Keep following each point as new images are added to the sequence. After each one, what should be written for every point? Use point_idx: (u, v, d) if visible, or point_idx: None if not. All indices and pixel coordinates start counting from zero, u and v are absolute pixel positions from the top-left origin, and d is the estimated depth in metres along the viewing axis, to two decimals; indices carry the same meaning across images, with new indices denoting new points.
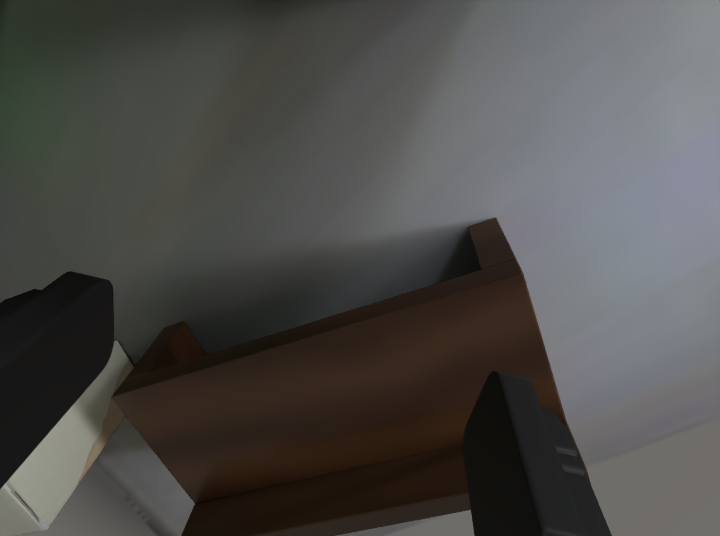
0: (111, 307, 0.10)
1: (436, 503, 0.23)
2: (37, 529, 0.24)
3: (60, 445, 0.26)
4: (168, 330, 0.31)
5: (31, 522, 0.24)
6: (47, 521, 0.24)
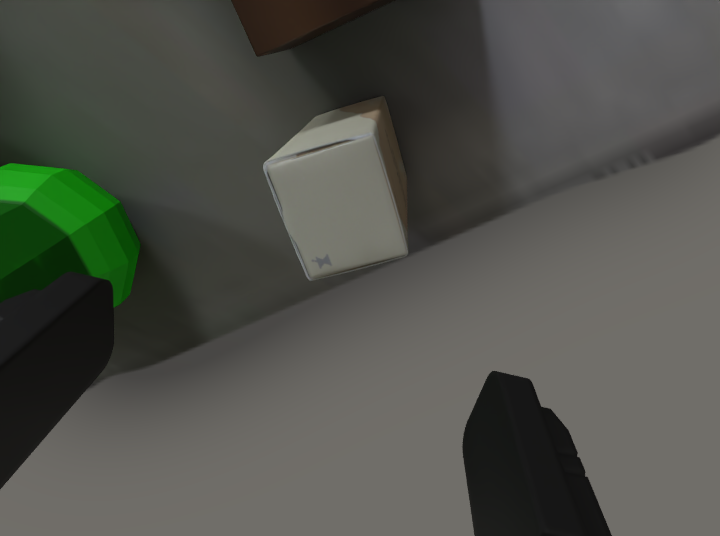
0: (111, 307, 0.10)
1: None
2: (368, 145, 0.16)
3: (317, 134, 0.20)
4: None
5: (352, 148, 0.17)
6: (363, 132, 0.17)
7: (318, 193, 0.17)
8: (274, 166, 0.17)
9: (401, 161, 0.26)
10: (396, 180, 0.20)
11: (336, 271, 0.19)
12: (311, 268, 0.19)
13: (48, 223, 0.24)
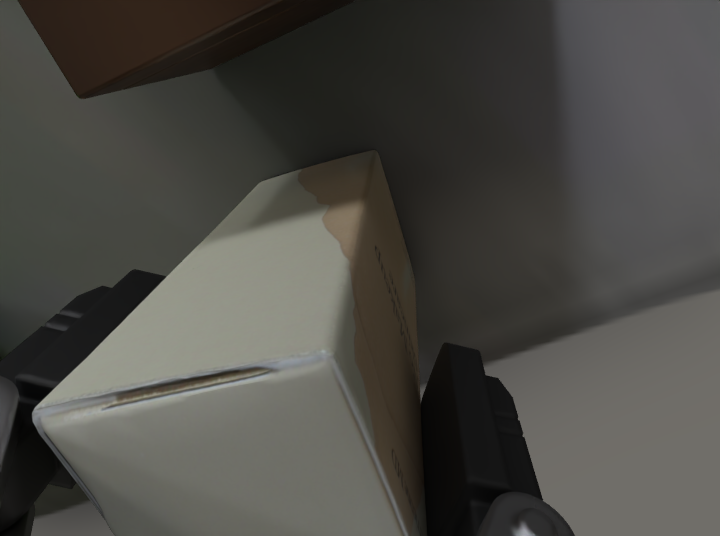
0: None
1: None
2: (318, 387, 0.05)
3: (219, 272, 0.09)
4: None
5: (271, 394, 0.06)
6: (304, 344, 0.06)
7: (186, 487, 0.06)
8: (56, 425, 0.06)
9: (406, 261, 0.15)
10: (399, 367, 0.09)
11: None
12: None
13: None
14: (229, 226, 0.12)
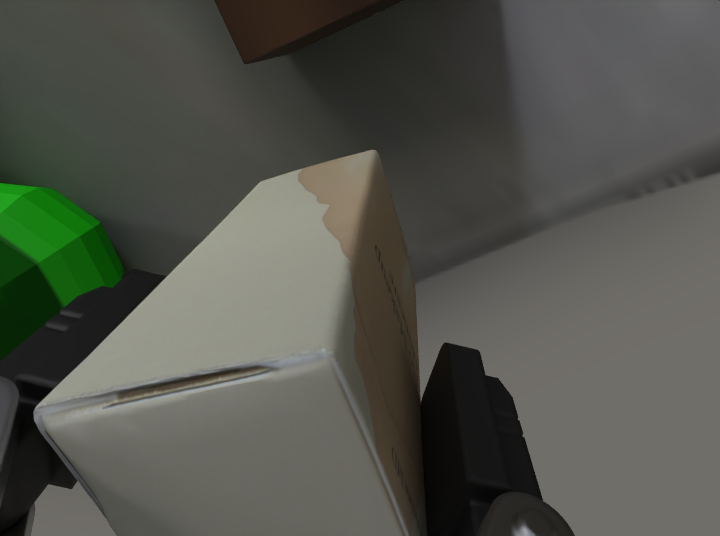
0: None
1: None
2: (318, 385, 0.05)
3: (219, 272, 0.09)
4: None
5: (272, 393, 0.06)
6: (305, 343, 0.06)
7: (187, 485, 0.06)
8: (57, 423, 0.06)
9: (406, 261, 0.15)
10: (399, 366, 0.09)
11: None
12: None
13: (14, 250, 0.21)
14: (229, 226, 0.12)
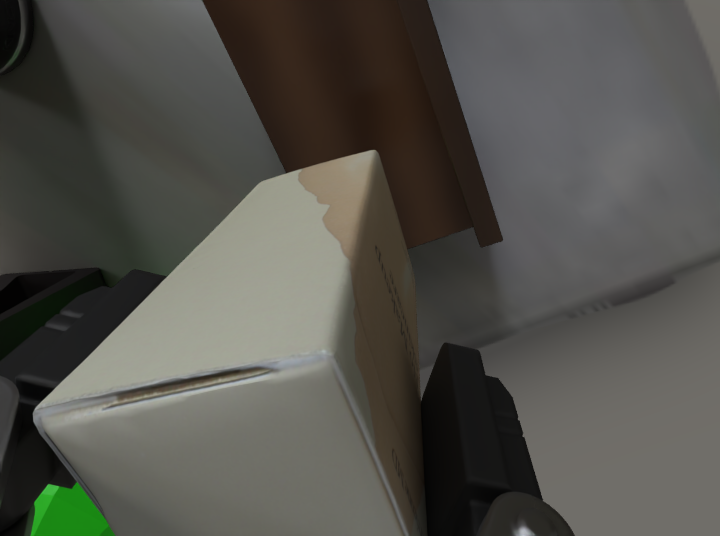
0: None
1: None
2: (318, 387, 0.05)
3: (220, 272, 0.09)
4: None
5: (271, 394, 0.06)
6: (305, 344, 0.06)
7: (187, 486, 0.06)
8: (57, 425, 0.06)
9: (406, 261, 0.15)
10: (400, 367, 0.09)
11: None
12: None
13: None
14: (229, 226, 0.12)
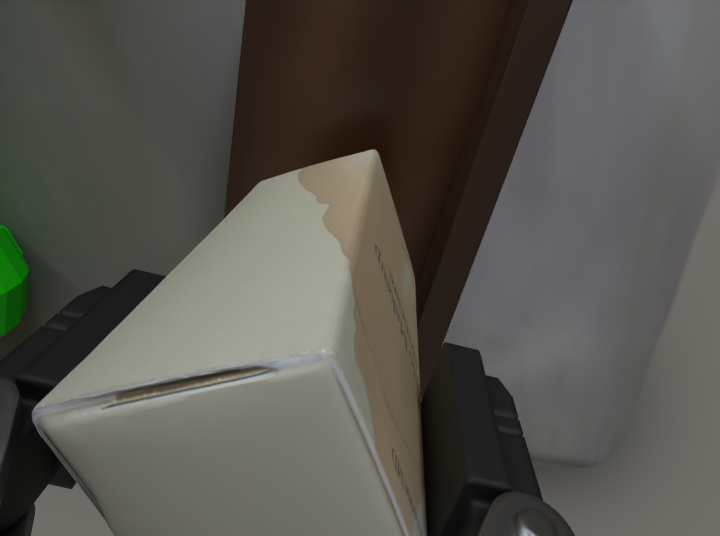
0: None
1: None
2: (318, 387, 0.05)
3: (220, 272, 0.09)
4: None
5: (272, 393, 0.06)
6: (305, 343, 0.06)
7: (187, 486, 0.06)
8: (56, 424, 0.06)
9: (406, 261, 0.15)
10: (400, 366, 0.09)
11: None
12: None
13: None
14: (229, 225, 0.12)
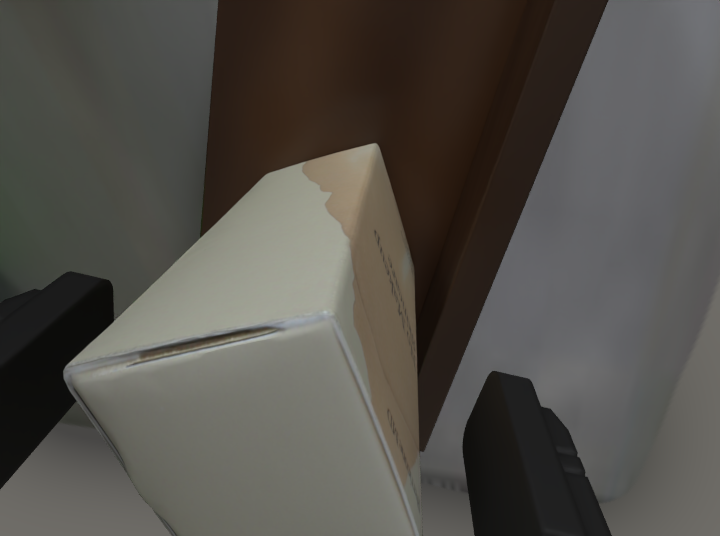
0: (111, 307, 0.10)
1: None
2: (320, 344, 0.06)
3: (229, 253, 0.09)
4: None
5: (279, 350, 0.06)
6: (308, 307, 0.06)
7: (202, 439, 0.07)
8: (86, 381, 0.07)
9: (406, 250, 0.16)
10: (397, 342, 0.10)
11: None
12: None
13: None
14: (237, 213, 0.12)
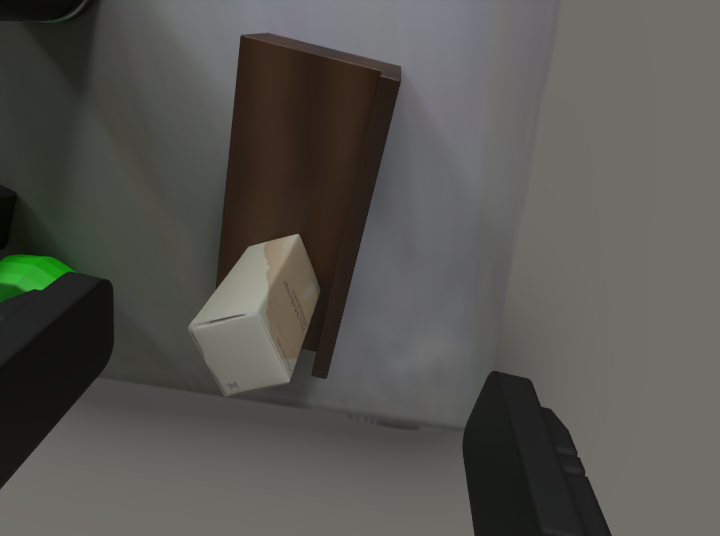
0: (111, 307, 0.10)
1: (356, 193, 0.30)
2: (255, 319, 0.25)
3: (232, 291, 0.28)
4: None
5: (245, 320, 0.25)
6: (252, 309, 0.25)
7: (225, 345, 0.26)
8: (195, 329, 0.26)
9: (312, 283, 0.35)
10: (289, 321, 0.29)
11: (243, 391, 0.27)
12: (225, 389, 0.27)
13: None
14: (235, 272, 0.31)
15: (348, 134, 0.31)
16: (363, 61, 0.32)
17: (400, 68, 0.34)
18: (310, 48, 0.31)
